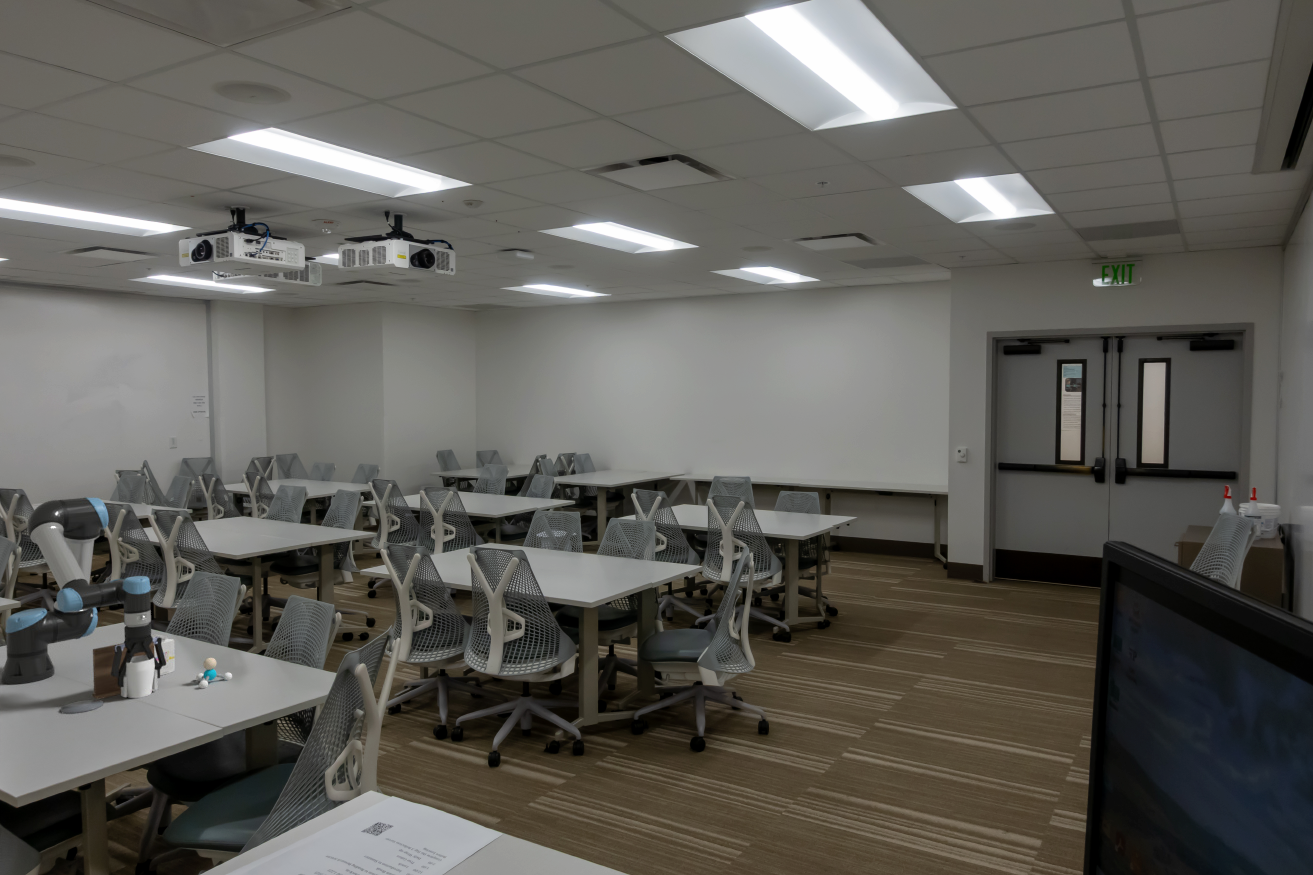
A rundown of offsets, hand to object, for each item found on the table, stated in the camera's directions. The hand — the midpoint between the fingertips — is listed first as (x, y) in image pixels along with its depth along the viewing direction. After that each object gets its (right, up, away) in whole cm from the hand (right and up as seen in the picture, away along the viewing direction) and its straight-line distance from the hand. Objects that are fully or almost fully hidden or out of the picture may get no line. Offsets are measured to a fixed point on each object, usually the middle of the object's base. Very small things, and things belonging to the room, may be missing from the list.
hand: (139, 692), depth 283 cm
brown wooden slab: (-7, -1, +4) cm, 9 cm away
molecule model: (+17, -1, +14) cm, 22 cm away
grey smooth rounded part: (-11, -1, -11) cm, 16 cm away
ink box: (-8, 0, +24) cm, 25 cm away
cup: (0, -1, 0) cm, 1 cm away
